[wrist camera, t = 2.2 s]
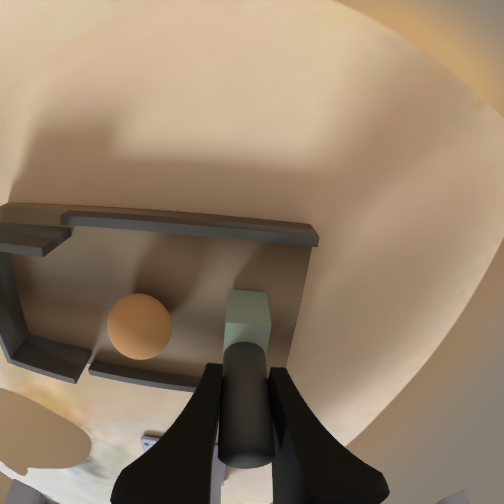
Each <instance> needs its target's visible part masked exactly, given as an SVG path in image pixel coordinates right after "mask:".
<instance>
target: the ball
mask: <svg viewBox="0 0 504 504" xmlns="http://www.w3.org/2000/svg"><path fill="white" fill-rule="evenodd" d="M107 331H108V335H109V338H110V340H111V342H112V344H113V345H114V347H115V348H116V349H117V350H118V351H119V352H120V353H122V354H123V355H125V356H127V357H129V358H132V359H137V360H144V359H149V358H152V357H155V356H156V355H158V354H160V353H161V352H162V351H163V350H164V349H165V347H166V346H167V344H168V343H169V340H170V338H171V333H172V323H171V319H170V316H169V313H168V311H167V310H166V308H165V307H164V306H163V304H162V303H161V302H159V301H158V300H157V299H155V298H153V297H151V296H149V295H146V294H139V293H137V294H130V295H127V296H125V297H123V298H121V299H120V300H118V301H117V302H116V303H115V304H114V305H113V307H112V308H111V310H110V312H109V315H108V319H107Z"/></svg>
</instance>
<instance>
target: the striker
mask: <svg viewBox="0 0 504 504" xmlns="http://www.w3.org/2000/svg"><path fill="white" fill-rule="evenodd" d="M270 331H271V319H270V312H269V306H268V299H267V292H259V291H246V290H234V289H228V296H227V308H226V320H225V333H224V346H223V360H222V364H223V375H222V389H221V399H220V416H219V435H218V459H219V460H220V461H221V462H222V463H223V464H225V465H228V466H231V467H235V468H243V469H249V468H257V467H261V466H264V465H267V464H269V463H270V462H272V461H273V460H274V459H275V456H276V453H275V443H274V434H273V424H272V414H271V404H270V395H269V385H268V375H267V366H266V353H267V347H268V342H269V336H270Z"/></svg>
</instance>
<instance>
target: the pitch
mask: <svg viewBox="0 0 504 504" xmlns="http://www.w3.org/2000/svg"><path fill="white" fill-rule="evenodd" d="M318 242H319V236H318V234H317V233H316V232H315V230H314V229H313V227H312V226H311V225H310V224H301V223H292V222H283V221H273V220H263V219H253V218H243V217H232V216H221V215H210V214H198V213H186V212H173V211H160V210H145V209H130V208H114V207H97V206H77V205H54V204H26V203H6V204H4V205H2V206H0V345H1V347H2V350H3V352H4V355H5V357H6V359H7V361H8V362H9V363H11V364H14V365H16V366H19V367H22V368H25V369H28V370H31V371H33V372H36V373H39V374H43V375H46V376H49V377H52V378H55V379H59V380H62V381H66V382H69V383H73V384H76V383H77V381H78V379H79V377H80V375H81V373H82V372H83V370H84V368H85V366H86V364H91V365H90V367H89V369H88V371H89V374H90V375H94V376H99V377H103V378H108V379H113V380H117V381H122V382H128V383H133V384H139V385H145V386H151V387H157V388H164V389H171V390H179V391H187V392H195V390H196V388H197V386H198V384H199V382H200V380H201V378H202V375H203V373H204V370H205V366H206V364H208V363H216V364H222V360H223V346H224V333H225V320H226V308H227V296H228V289H234V290H246V291H259V292H267V299H268V306H269V312H270V319H271V331H270V336H269V342H268V347H267V353H266V366H267V375H268V377H269V373H270V368H271V367H286V363H287V359H288V354H289V350H290V346H291V342H292V338H293V333H294V329H295V325H296V320H297V316H298V311H299V307H300V302H301V297H302V293H303V288H304V283H305V278H306V273H307V268H308V263H309V258H310V253H311V248H312V247H318ZM137 293H139V294H146V295H149V296H151V297H153V298H155V299H157V300H158V301H159V302H161V303H162V304H163V306H164V307H165V308H166V310H167V311H168V313H169V316H170V319H171V323H172V333H171V338H170V340H169V343H168V344H167V346H166V347H165V349H164V350H163V351H162V352H161V353H160V354H158V355H156V356H155V357H152V358H149V359H144V360H137V359H132V358H129V357H127V356H125V355H123V354H122V353H120V352H119V351H118V350H117V349H116V348H115V347H114V345H113V344H112V342H111V340H110V338H109V335H108V331H107V319H108V315H109V312H110V310H111V308H112V307H113V305H114V304H115V303H116V302H117V301H118V300H120V299H121V298H123V297H125V296H127V295H130V294H137Z"/></svg>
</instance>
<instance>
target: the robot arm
mask: <svg viewBox="0 0 504 504" xmlns="http://www.w3.org/2000/svg"><path fill="white" fill-rule="evenodd" d="M222 375H223V364H216V363H208V364H206V366H205V370H204V373H203V375H202V378H201V380H200V382H199V384H198V386H197V388H196V390H195V392H194V393H193V395H192V397H191V399H190V400H189V402H188V403H187V405H186V407H185V408H184V410H183V411H182V413H181V414H180V415H179V417H178V418H177V419H176V421H175V422H174V423H173V424H172V426H171V427H170V428H169V429H168V430H167V431H166V432H165V434H164V435H163V436H162V437H161V438H155V437H149V436H142V437H141V443H142V446H143V450H144V454H143V455H142V456H140V457H139V458H138V459H136V460H135V461H134V462H132V463H131V464H130V465H128V466H127V467H125V468H124V469H123V470H122V471H121V473H120V475H119V476H118V478H117V480H116V482H115V484H114V487H113V490H112V494H111V498H110V501H111V504H221V486H223V485H224V478H225V469H226V465H225V464H223V463H222V462H221V461H220V460H219V459H218V445H215V441H216V435H217V428H218V422H219V416H220V399H221V389H222ZM268 385H269V395H270V404H271V414H272V424H273V434H274V443H275V453H276V456H275V459H274V460H273V461H272V480H273V504H380V503H381V502H382V501H384V500H385V499H386V498H387V497H388V495H389V493H390V491H389V488H388V485H387V483H386V480H385V478H384V476H383V474H382V473H381V472H379V471H378V470H376V469H374V468H372V467H371V466H369V465H368V464H366V463H364V462H363V461H362V460H360V459H359V458H357V457H356V456H355V455H353V454H352V453H351V452H350V451H349V450H347V449H346V448H345V447H344V446H343V445H342V444H340V443H339V442H338V441H337V440H336V439H335V438H334V437H333V436H332V435H331V434H330V433H329V432H328V431H327V429H326V428H325V427H324V426H323V425H322V424H321V423H320V421H319V420H318V419H317V418H316V416H315V415H314V414H313V412H312V411H311V410H310V408H309V407H308V405H307V404H306V402H305V401H304V399H303V398H302V396H301V395H300V393H299V391H298V390H297V388H296V386H295V385H294V383H293V381H292V379H291V377H290V375H289V373H288V371H287V369H286V368H285V367H271V368H270V373H269V377H268ZM4 504H58V503H56V502H54V501H51V500H49V499H47V498H46V497H45V496H44V495H43V494H42V493H41V492H39V491H38V490H36V489H34V488H32V487H30V486H28V485H26V484H24V483H22V482H20V481H18V480H16V479H13V481H12V483H11V486H10V488H9V490H8V493H7V496H6V498H5V501H4ZM436 504H470V502H469V500H468V498H467V496H466V493H465V491H464V490H461V491H458V492H456V493H454V494H452V495H449V496H447V497H445V498H443V499H441V500H440V501H439V502H437V503H436Z"/></svg>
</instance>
